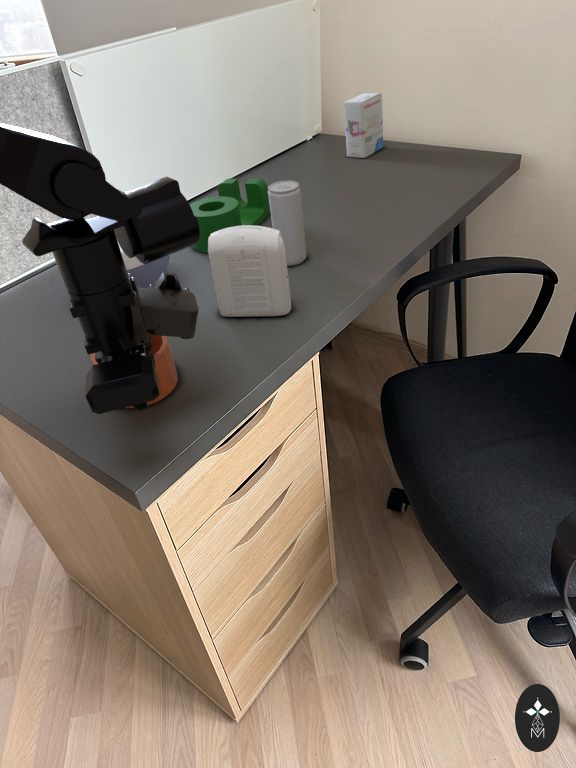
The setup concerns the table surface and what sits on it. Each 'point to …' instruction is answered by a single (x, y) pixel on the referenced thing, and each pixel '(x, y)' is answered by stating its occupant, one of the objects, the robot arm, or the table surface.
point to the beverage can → (288, 219)
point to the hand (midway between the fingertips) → (142, 407)
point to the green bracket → (231, 209)
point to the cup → (160, 366)
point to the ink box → (364, 124)
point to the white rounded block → (250, 271)
